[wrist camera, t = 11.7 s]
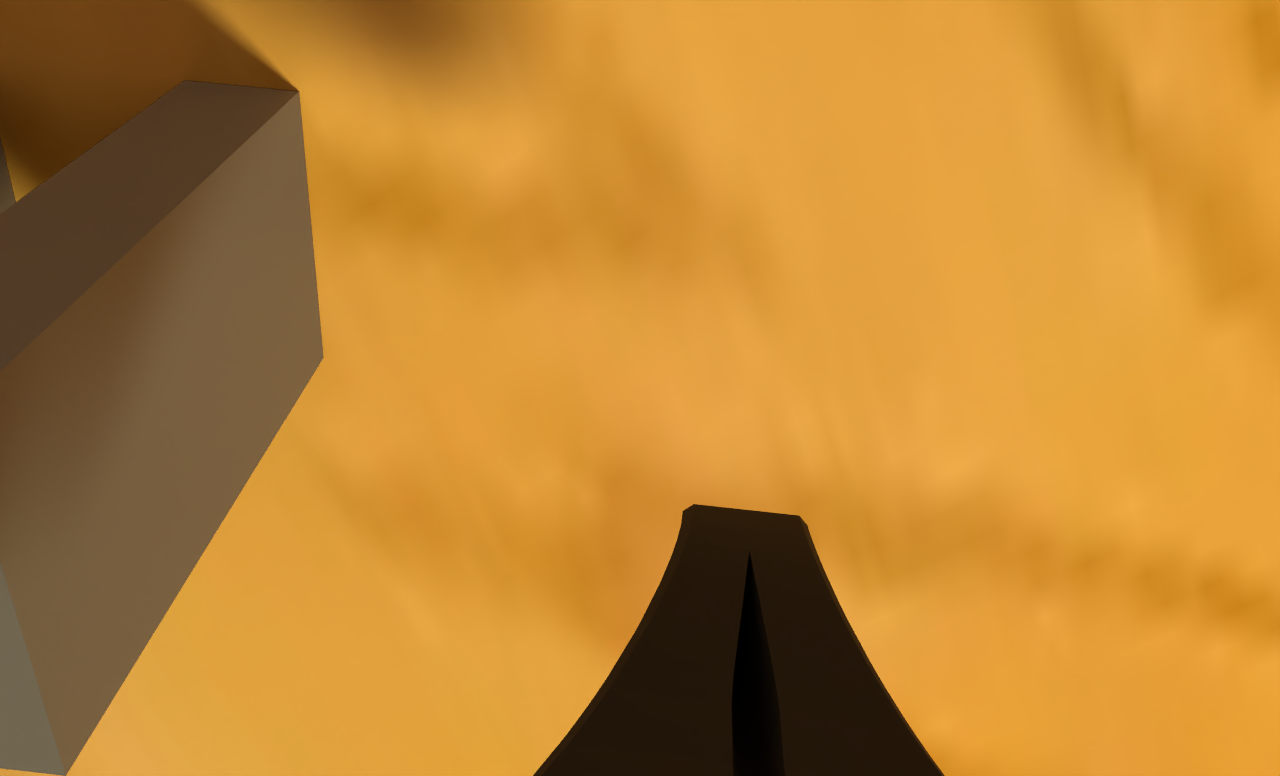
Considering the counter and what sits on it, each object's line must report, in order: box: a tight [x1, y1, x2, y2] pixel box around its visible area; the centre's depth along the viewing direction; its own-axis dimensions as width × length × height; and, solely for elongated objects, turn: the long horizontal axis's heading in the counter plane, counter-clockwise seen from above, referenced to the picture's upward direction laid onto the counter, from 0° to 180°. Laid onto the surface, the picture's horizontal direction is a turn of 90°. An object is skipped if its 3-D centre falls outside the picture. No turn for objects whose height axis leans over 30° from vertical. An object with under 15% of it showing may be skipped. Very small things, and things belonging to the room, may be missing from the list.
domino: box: [0, 80, 323, 776], centre depth 15 cm, size 2×5×9 cm, turn 175°
